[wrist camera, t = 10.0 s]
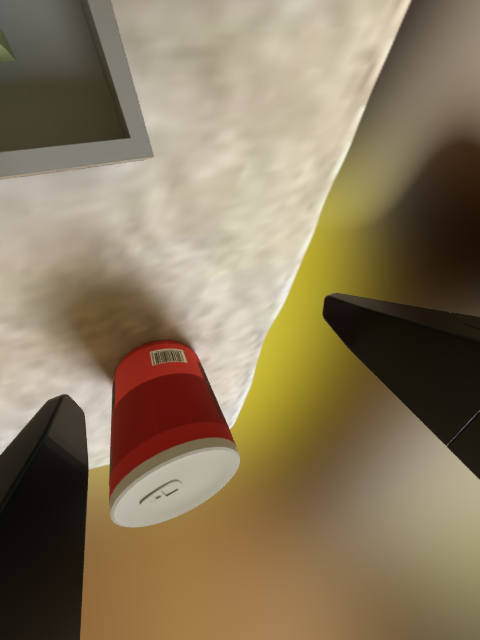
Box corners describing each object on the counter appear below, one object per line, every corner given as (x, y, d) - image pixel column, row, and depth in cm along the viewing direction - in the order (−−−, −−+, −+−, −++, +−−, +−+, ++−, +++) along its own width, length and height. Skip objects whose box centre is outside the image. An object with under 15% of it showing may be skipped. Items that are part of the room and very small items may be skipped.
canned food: (91, 372, 19) (72, 524, 11) (170, 321, 20) (208, 429, 12) (148, 408, 24) (164, 533, 16) (210, 367, 25) (256, 465, 17)
